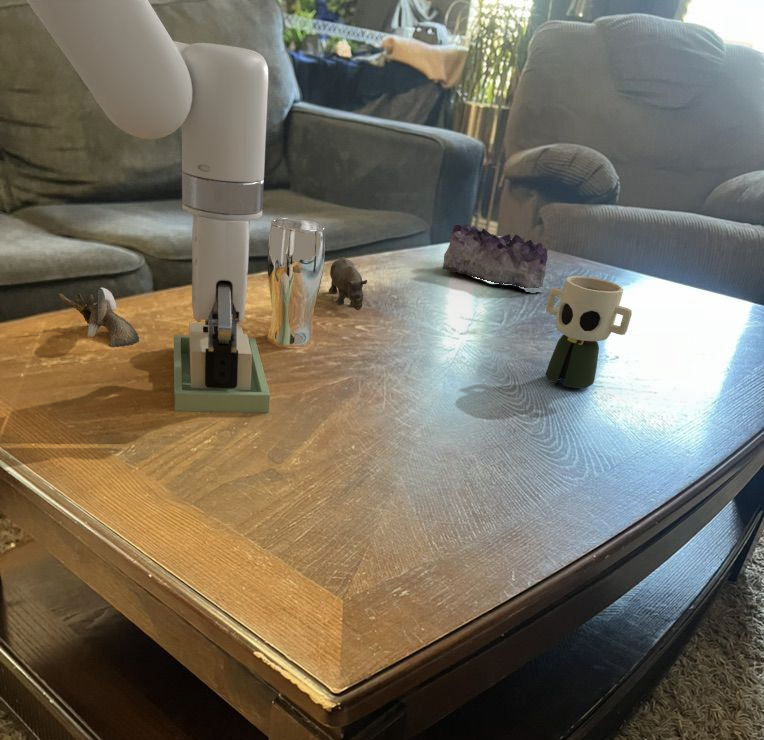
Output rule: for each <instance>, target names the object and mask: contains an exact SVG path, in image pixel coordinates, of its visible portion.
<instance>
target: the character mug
mask: <svg viewBox="0 0 764 740" xmlns="http://www.w3.org/2000/svg"><path fill="white" fill-rule="evenodd" d="M623 293H624V288H623V287H622V286H621V285H619V284H618V283H615V282H612V281H610V280H607V279H604V278H598V277H594V276H585V275H571V276H568V277H567V278H565V281H564V284H563V288H562V289H561V288H557V287H551V288H550V290H549V292H548V295H547V300H546V305H545V312H546V313H548V314H549V315H553V316H555V327H556V330H557V331H558V332H559V333H560V334H562V335H561V336H560V337H559V339H558V341H557V343H556V345H555V348H554V350H553V353H552V355H551V357H550V359H549V360H550V361H549V363H548V366H547V368H546V372H545V376H546V378H547V379H548V380H550V381H551V382H553V383H554V384H558V382H559V380H558V379H560V378H561V379H560V380H563V381H564V382H563V386H564V387H566V388H572V389H586V388H589V387H591V386H592V385H593V384H594V382H595V379H596V374H597V368H598V362H599V361H598V359H599V352H600V347H599V346H600V345H599V342H602V341H605V340H607V339H608V338H609V337H610V336H611V334H612V333H613V334H616V335H620V336H624V335H626V333H627V332H628V329H629V325H630V322H631V319H632V311H633V310H632V309H630V308H628V307H626V306H622V305H620V304H621V301H622V297H623ZM556 297H557V298H560V300H559V304H558V307H556V306H554V305H555V301H556ZM617 315H621V316H622V317H621V321H620V325H617V324H615V322H616V318H617Z"/></svg>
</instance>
